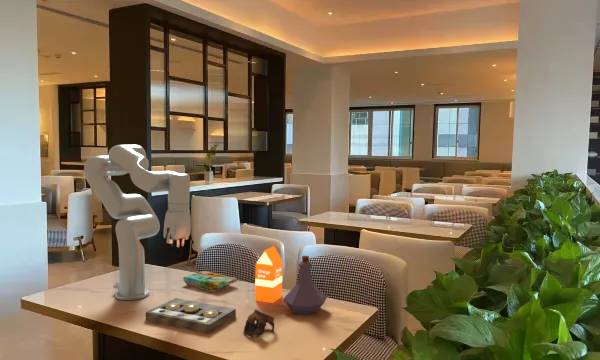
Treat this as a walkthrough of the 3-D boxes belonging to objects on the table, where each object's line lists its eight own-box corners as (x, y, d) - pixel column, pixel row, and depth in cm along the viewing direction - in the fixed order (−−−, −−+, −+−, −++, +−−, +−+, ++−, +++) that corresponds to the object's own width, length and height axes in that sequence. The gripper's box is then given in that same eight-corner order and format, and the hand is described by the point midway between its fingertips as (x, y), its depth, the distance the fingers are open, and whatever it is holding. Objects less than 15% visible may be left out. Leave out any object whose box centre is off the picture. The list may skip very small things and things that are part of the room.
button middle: (180, 313, 161) (180, 307, 161) (189, 308, 165) (189, 302, 165) (192, 315, 159) (192, 309, 159) (201, 310, 163) (201, 304, 163)
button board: (145, 320, 160) (145, 311, 160) (175, 305, 175) (175, 297, 175) (209, 333, 150) (209, 323, 149) (235, 317, 164) (235, 307, 164)
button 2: (200, 319, 158) (200, 313, 157) (208, 315, 162) (208, 308, 162) (212, 322, 156) (212, 315, 155) (220, 317, 160) (220, 311, 160)
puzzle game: (203, 269, 210) (237, 276, 199) (203, 279, 210) (237, 287, 199) (183, 275, 200) (218, 283, 189) (183, 285, 200) (218, 294, 189)
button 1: (162, 312, 164) (162, 306, 164) (171, 307, 169) (171, 302, 168) (173, 314, 162) (173, 308, 162) (182, 310, 167) (182, 304, 166)
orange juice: (254, 300, 182) (255, 249, 181) (265, 293, 190) (265, 245, 189) (273, 303, 179) (273, 251, 178) (282, 296, 187) (283, 246, 186)
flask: (299, 299, 184) (300, 249, 182) (335, 308, 174) (336, 255, 172) (273, 311, 170) (273, 257, 169) (310, 322, 161) (311, 264, 159)
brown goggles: (239, 330, 154) (250, 306, 156) (265, 341, 156) (275, 317, 158) (244, 335, 143) (255, 309, 145) (272, 347, 144) (283, 321, 146)
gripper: (184, 203, 178) (183, 251, 180) (155, 208, 165) (154, 259, 166) (200, 206, 175) (198, 254, 176) (172, 211, 161) (171, 263, 163)
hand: (177, 256), depth 171 cm, fingers closed
